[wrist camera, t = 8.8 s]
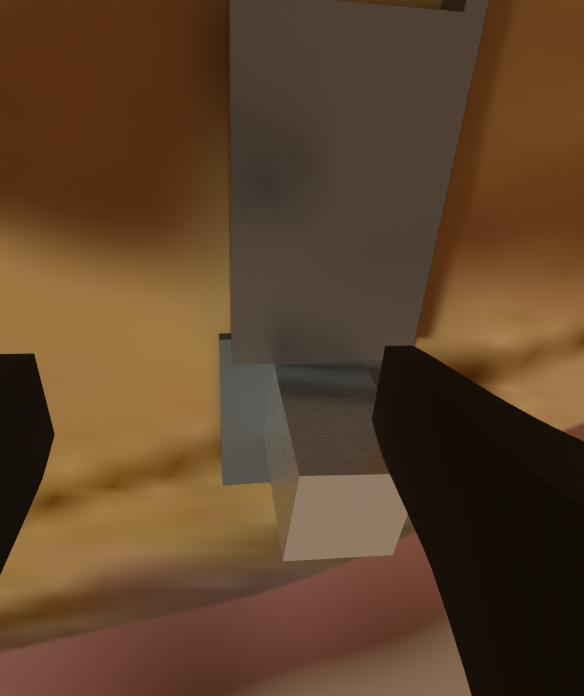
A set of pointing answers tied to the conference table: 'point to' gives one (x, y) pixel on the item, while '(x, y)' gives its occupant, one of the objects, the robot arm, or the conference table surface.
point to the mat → (253, 412)
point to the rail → (339, 169)
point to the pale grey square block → (329, 465)
